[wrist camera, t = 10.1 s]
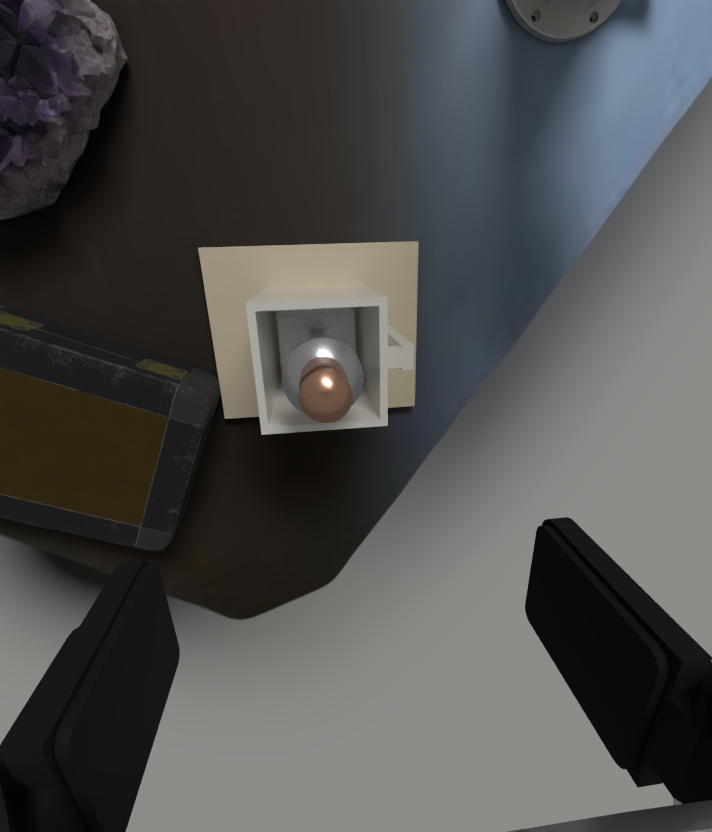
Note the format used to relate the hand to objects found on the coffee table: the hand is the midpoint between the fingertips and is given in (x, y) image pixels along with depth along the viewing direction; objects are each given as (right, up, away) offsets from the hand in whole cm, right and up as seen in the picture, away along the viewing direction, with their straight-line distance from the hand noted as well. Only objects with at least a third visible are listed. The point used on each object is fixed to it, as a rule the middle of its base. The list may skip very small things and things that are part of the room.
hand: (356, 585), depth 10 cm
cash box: (-30, +4, +37) cm, 47 cm away
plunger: (-4, +13, +33) cm, 36 cm away
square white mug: (-4, +13, +36) cm, 38 cm away
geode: (-28, +31, +26) cm, 49 cm away
